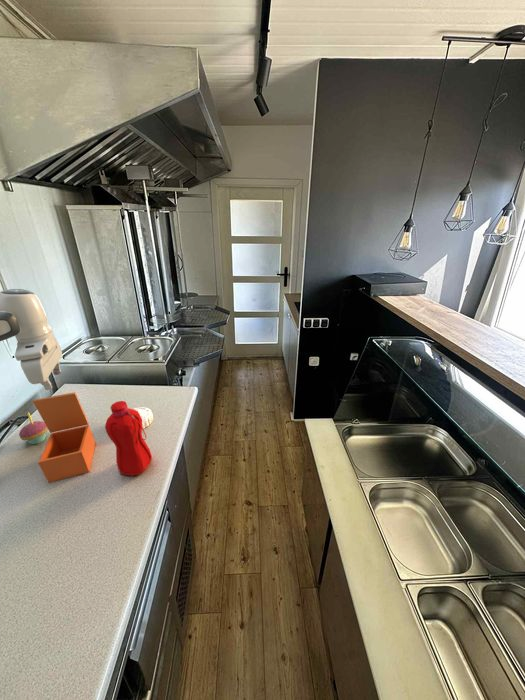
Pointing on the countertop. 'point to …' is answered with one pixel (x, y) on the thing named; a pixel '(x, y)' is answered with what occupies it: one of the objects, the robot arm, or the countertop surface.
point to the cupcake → (33, 431)
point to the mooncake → (145, 416)
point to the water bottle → (128, 439)
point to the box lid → (61, 412)
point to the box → (71, 463)
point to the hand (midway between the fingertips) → (53, 381)
